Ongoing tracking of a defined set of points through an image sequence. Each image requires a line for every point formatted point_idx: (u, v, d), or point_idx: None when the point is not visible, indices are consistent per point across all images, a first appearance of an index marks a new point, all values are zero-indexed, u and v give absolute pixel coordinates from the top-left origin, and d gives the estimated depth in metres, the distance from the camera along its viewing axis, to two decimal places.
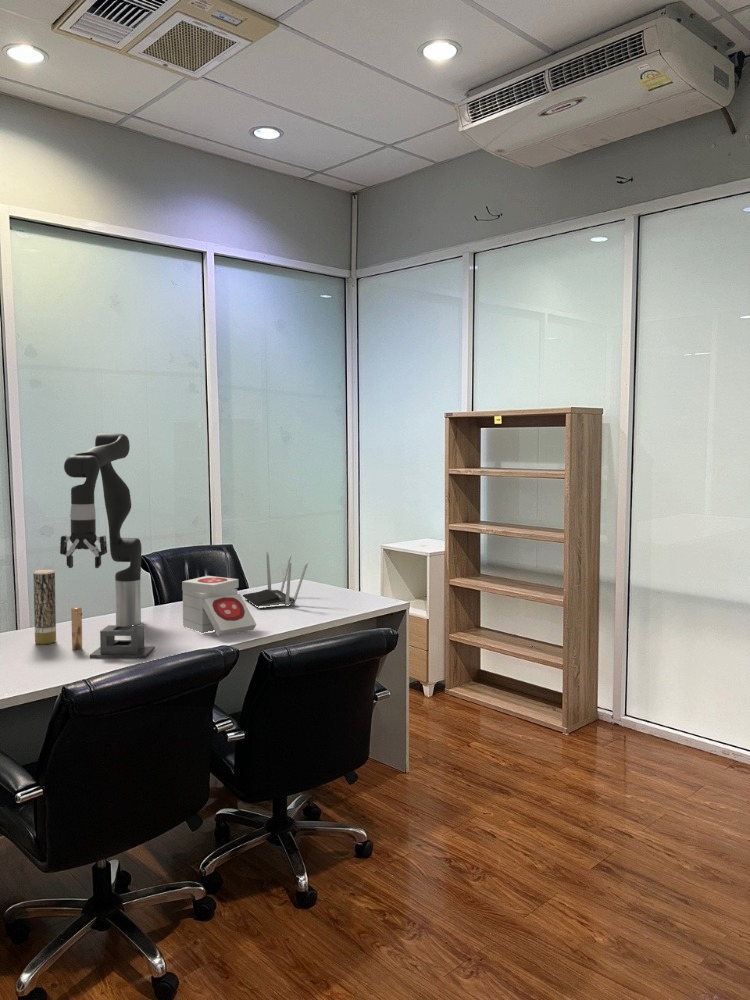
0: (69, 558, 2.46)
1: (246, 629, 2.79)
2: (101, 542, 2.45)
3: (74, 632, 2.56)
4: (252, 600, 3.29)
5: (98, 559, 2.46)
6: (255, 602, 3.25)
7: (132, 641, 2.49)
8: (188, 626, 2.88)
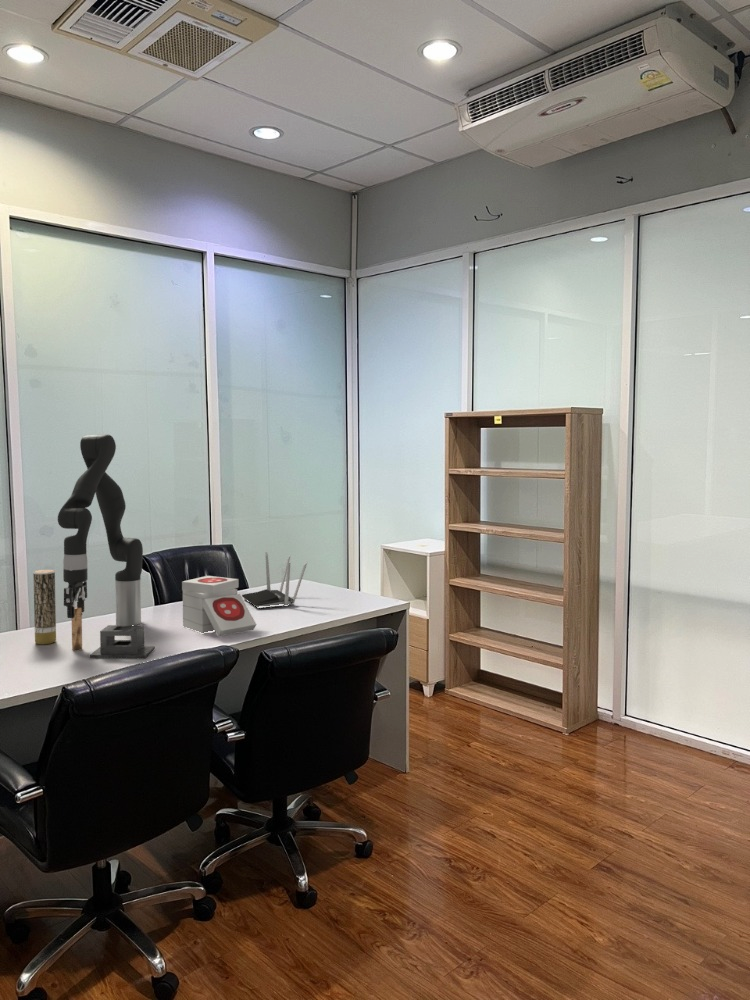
0: (74, 608, 2.53)
1: (246, 629, 2.79)
2: (86, 586, 2.63)
3: (74, 632, 2.56)
4: (251, 600, 3.29)
5: None
6: (254, 602, 3.25)
7: (132, 641, 2.49)
8: (188, 626, 2.88)
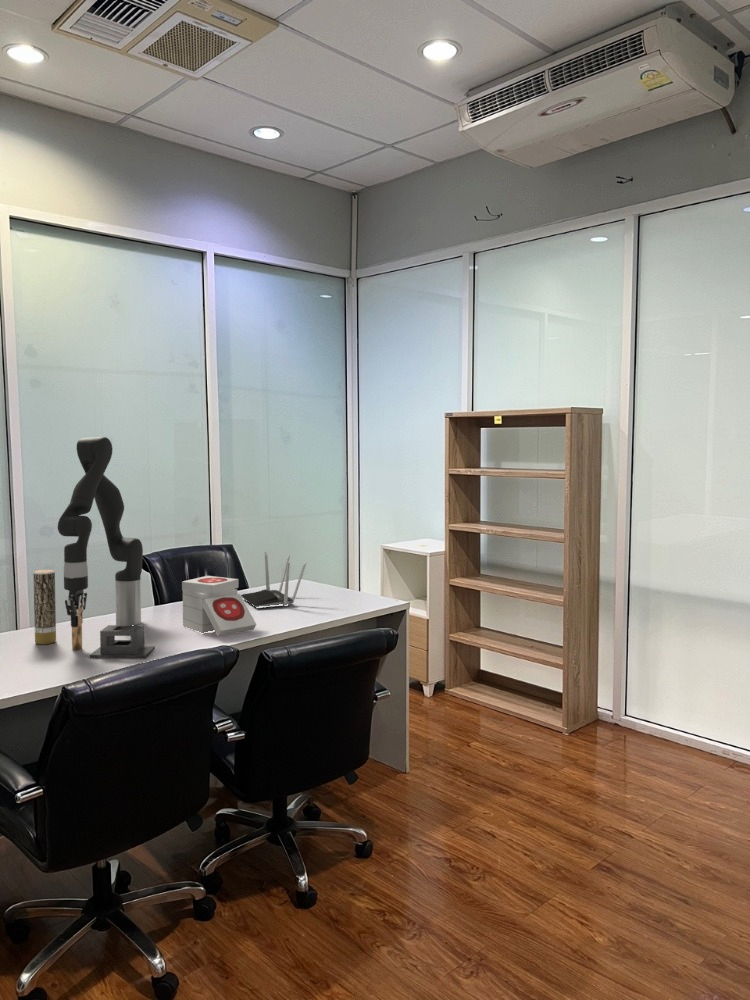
0: (77, 617, 2.56)
1: (246, 629, 2.79)
2: (85, 598, 2.62)
3: (74, 632, 2.56)
4: (250, 600, 3.29)
5: None
6: (253, 602, 3.24)
7: (132, 641, 2.49)
8: (188, 626, 2.88)
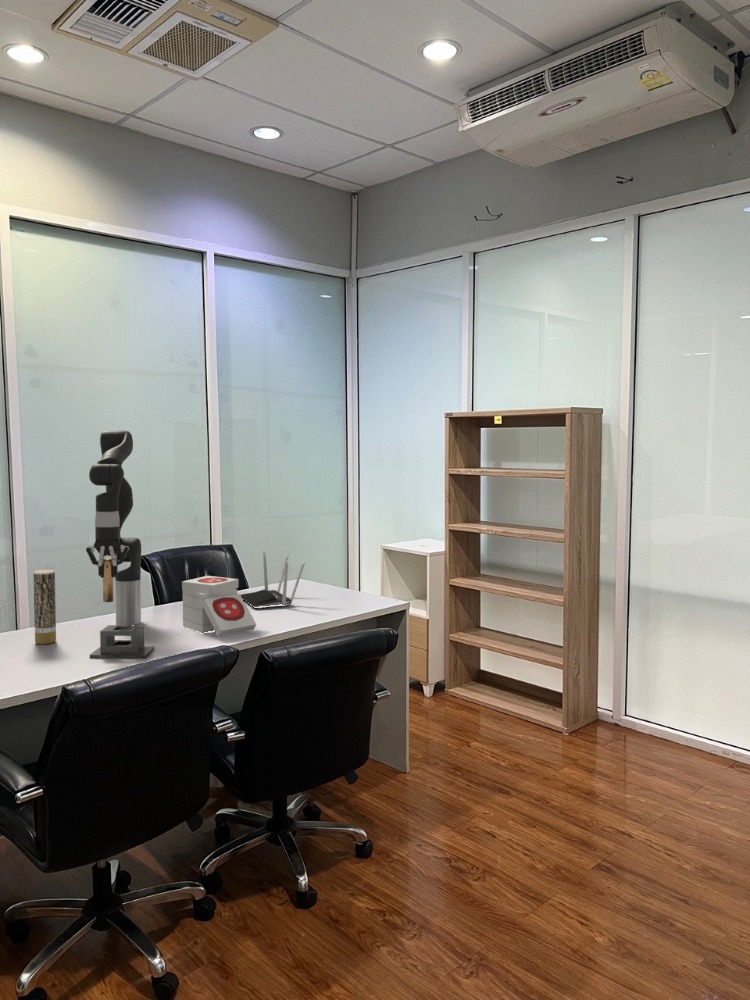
0: (101, 568, 2.51)
1: (246, 629, 2.79)
2: (124, 552, 2.51)
3: None
4: (249, 600, 3.29)
5: (115, 568, 2.52)
6: (252, 603, 3.24)
7: (132, 641, 2.49)
8: (188, 626, 2.88)
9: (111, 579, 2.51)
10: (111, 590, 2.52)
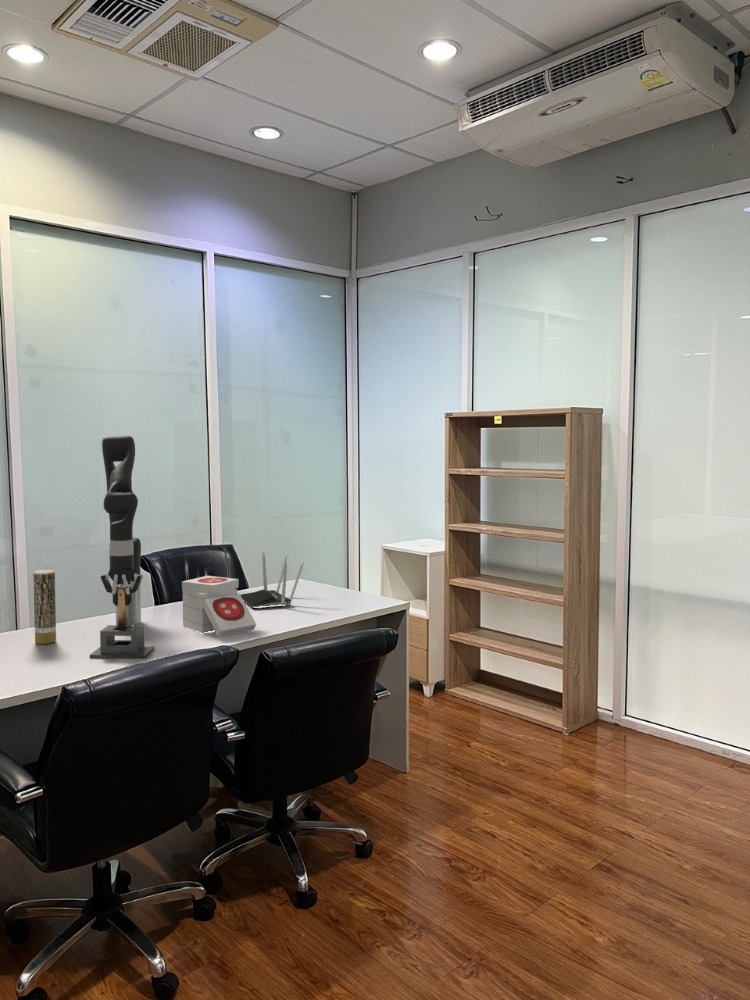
0: (115, 596, 2.51)
1: (246, 629, 2.79)
2: (137, 581, 2.50)
3: None
4: (248, 600, 3.28)
5: (128, 597, 2.51)
6: (251, 603, 3.24)
7: (132, 641, 2.49)
8: (188, 626, 2.88)
9: (125, 607, 2.51)
10: (125, 618, 2.52)
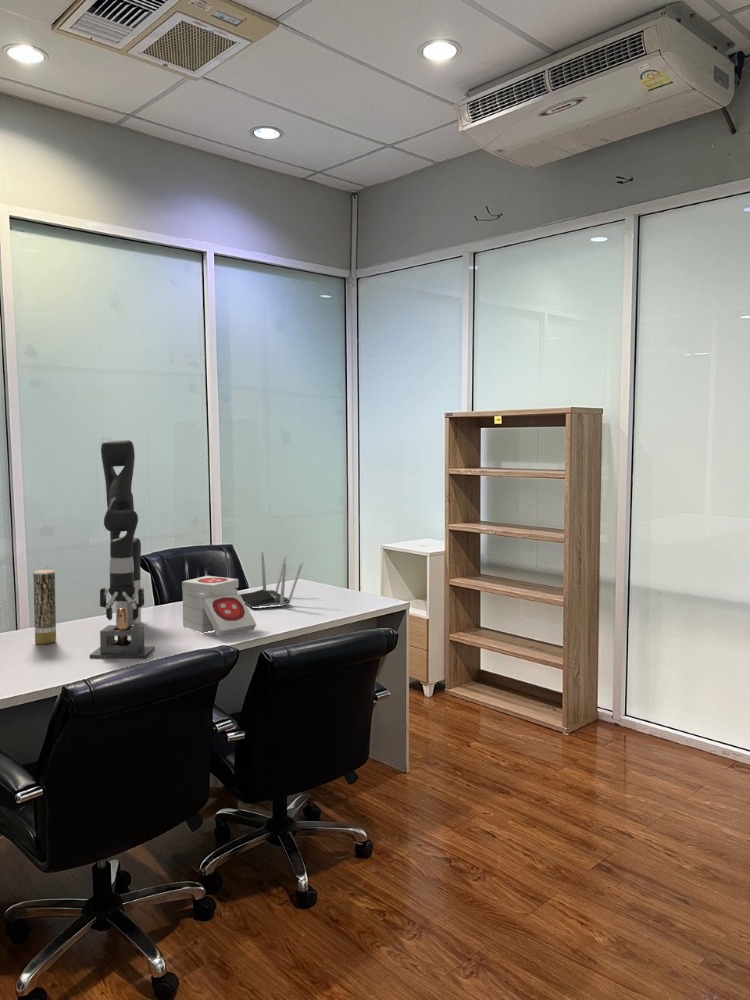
0: (109, 610, 2.51)
1: (246, 629, 2.79)
2: (139, 595, 2.51)
3: None
4: (247, 600, 3.28)
5: (135, 611, 2.52)
6: (250, 603, 3.24)
7: (132, 641, 2.49)
8: (188, 626, 2.88)
9: (125, 628, 2.52)
10: (125, 639, 2.52)
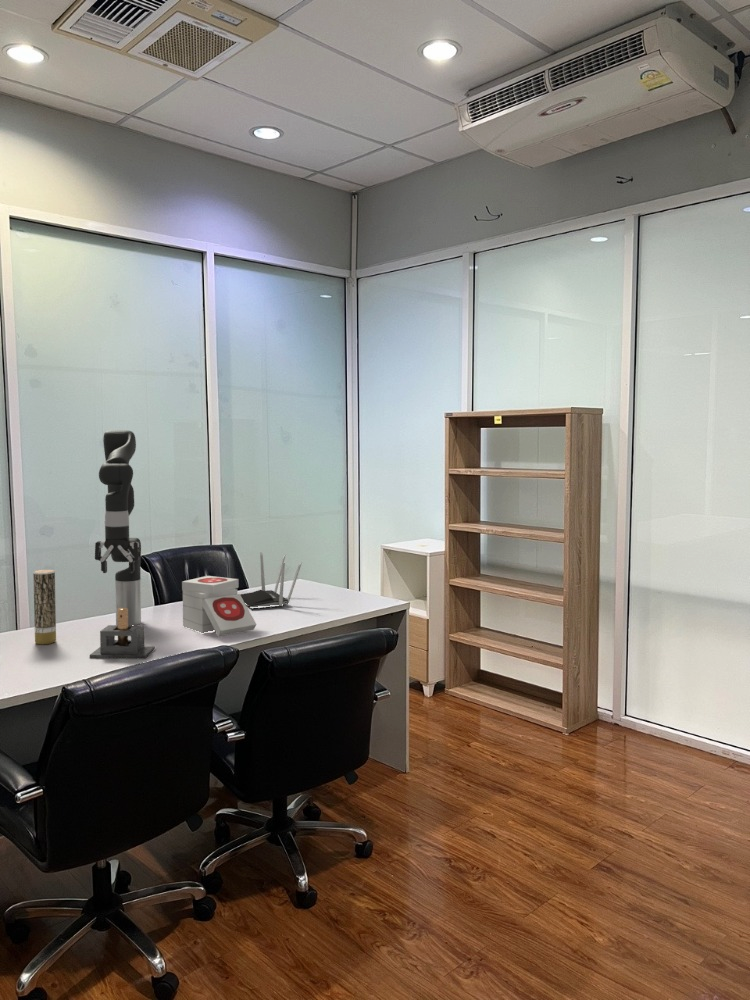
0: (103, 563, 2.52)
1: (246, 629, 2.79)
2: (135, 548, 2.52)
3: None
4: (245, 601, 3.28)
5: (131, 564, 2.53)
6: (249, 603, 3.24)
7: (132, 641, 2.49)
8: (188, 626, 2.88)
9: (125, 629, 2.52)
10: (125, 640, 2.52)
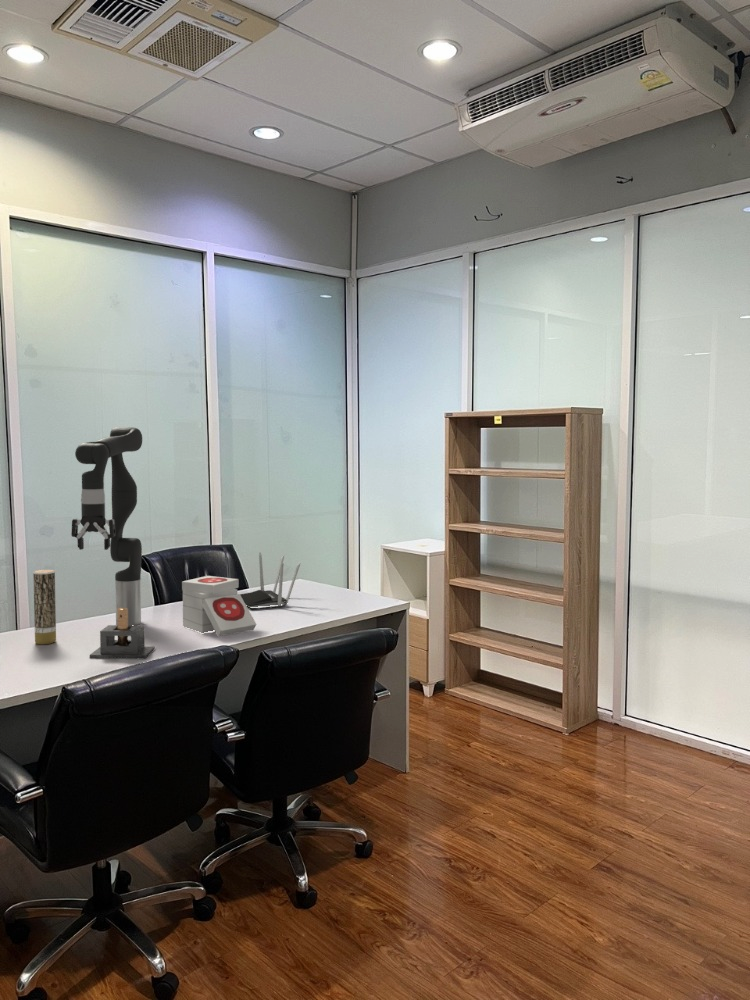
0: (80, 540, 2.60)
1: (246, 629, 2.79)
2: (110, 525, 2.60)
3: None
4: (244, 601, 3.28)
5: (107, 541, 2.61)
6: (247, 603, 3.23)
7: (132, 641, 2.49)
8: (188, 626, 2.88)
9: (125, 629, 2.52)
10: (125, 640, 2.52)
